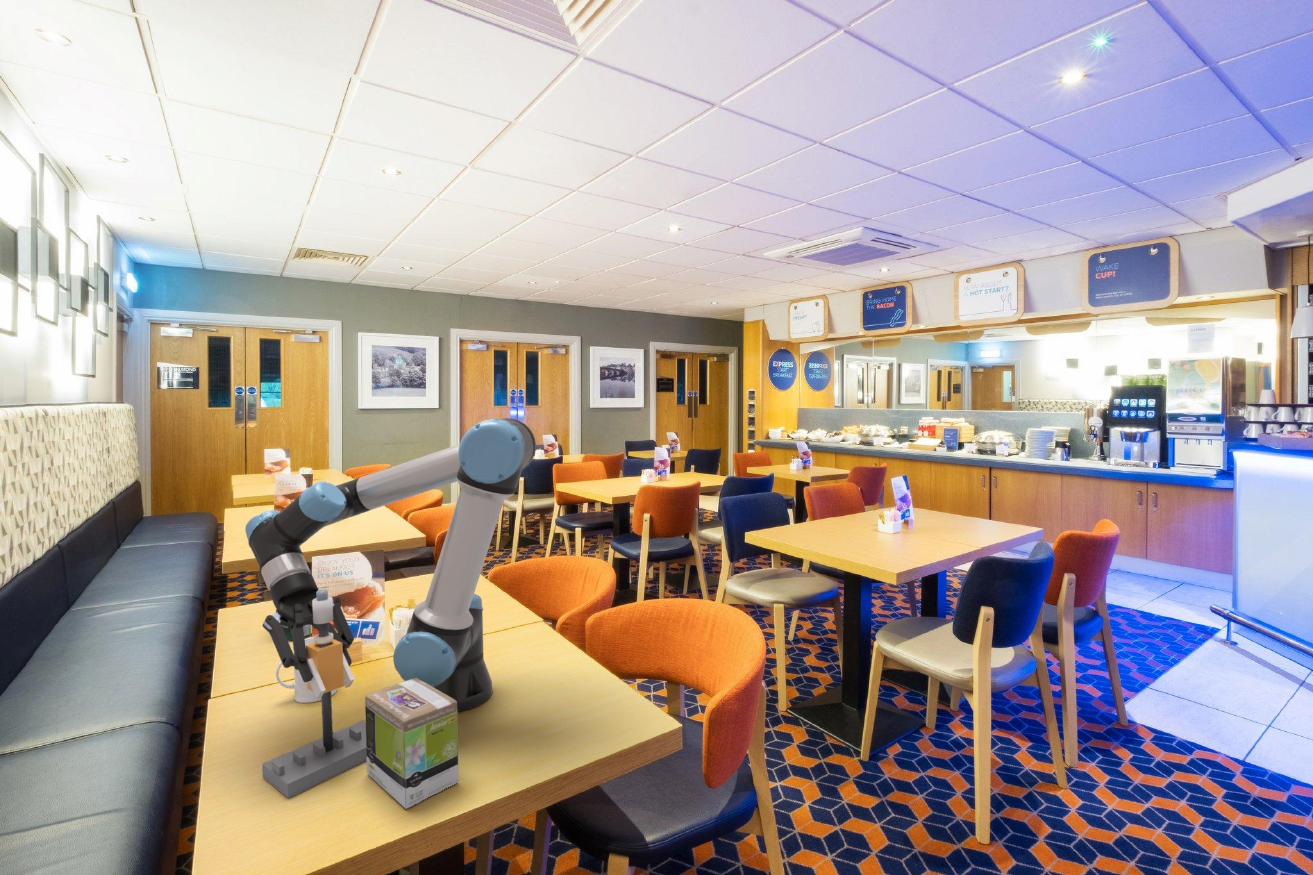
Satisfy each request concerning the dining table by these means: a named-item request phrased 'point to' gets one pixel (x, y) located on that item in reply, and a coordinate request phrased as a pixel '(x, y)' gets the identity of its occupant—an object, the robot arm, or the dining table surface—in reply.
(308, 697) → the mug
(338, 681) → the marker sleeve
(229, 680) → the dining table surface
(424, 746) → the tea box
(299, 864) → the dining table surface
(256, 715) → the dining table surface
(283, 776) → the rod stand with pegs
